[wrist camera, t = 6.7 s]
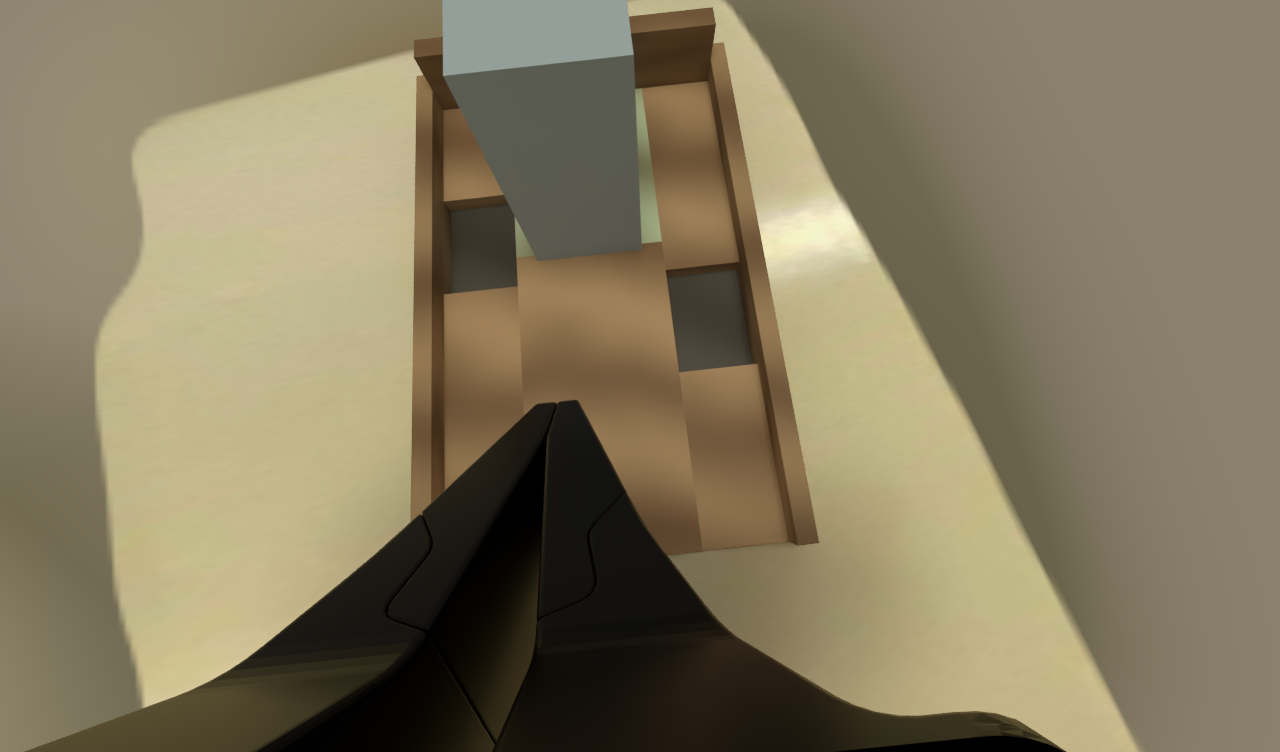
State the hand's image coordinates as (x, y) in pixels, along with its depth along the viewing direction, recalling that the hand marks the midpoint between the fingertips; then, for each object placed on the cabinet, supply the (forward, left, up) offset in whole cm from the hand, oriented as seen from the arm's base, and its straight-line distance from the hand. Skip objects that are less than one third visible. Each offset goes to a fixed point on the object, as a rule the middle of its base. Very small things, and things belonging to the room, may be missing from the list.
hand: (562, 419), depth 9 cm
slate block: (+13, 0, -10) cm, 17 cm away
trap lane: (+8, 0, -11) cm, 14 cm away
